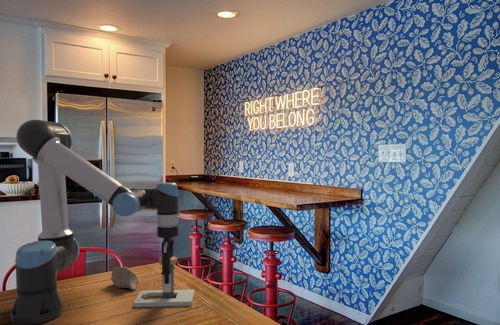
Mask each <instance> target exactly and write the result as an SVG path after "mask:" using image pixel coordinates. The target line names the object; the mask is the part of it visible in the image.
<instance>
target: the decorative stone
mask: <svg viewBox="0 0 500 325" xmlns="http://www.w3.org/2000/svg"><path fill="white" fill-rule="evenodd" d="M110 281H112V283H113V285H114V286H115V287H116V288H121V289H130V290H131V291H133V292H134V291H137V284H139V282H140V280H139V278H138V276H137V275H136V273H135V272H134V271H132V269H130V268H129V267H128V266H119V267H117V266H116V267H113V268H112V269H111V277H110Z"/></svg>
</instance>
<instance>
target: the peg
mask: <svg viewBox="0 0 500 325" xmlns="http://www.w3.org/2000/svg"><path fill="white" fill-rule="evenodd" d="M177 263H178V258H177V257H176V256H174V255H173V256H172V257H171V260H170V272H171V292H163V296H162V299H173V298H175V297H174V290H175V281H174V280H175V278H174V277H175V271H174V270H175V269H174V266H175V265H176V264H177ZM158 264H159V265H161V266H162V256H161V257H159V258H158Z"/></svg>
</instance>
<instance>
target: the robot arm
mask: <svg viewBox="0 0 500 325" xmlns="http://www.w3.org/2000/svg"><path fill="white" fill-rule="evenodd" d="M15 137H16V141H17V145H18V147H19V148H20V149H21V150H22V151H23V152H25V153H26V154H28V155H29V156H30V157H32V161H33V162H34V163H36V164H37V170H38V172H37V173H38V188H39V202H40V203H39V204H40V216H41V232H40V233H39V234H38V235H37V241H36V240H35V241H32V242H28V243H26V244H23V245H21V246H20V247H19V248H18V249H17V250H16V252H15V260H14V262H15V263H14V264H15V282H16V283H15V284H16V285H15V286H16V296H15V299H14V302H13V304H12V308H11V311H10V322H11V323H12V324H14V325H38V324H42V323H46V322H49V321H52V320H54V319H56V318H58V317H59V316H61V315H62V314H63V312H64V305H63V301H62V299H61V297H60V294H59V291H58V286H57V284H58V282H57V280H58V278H57V275H58V274H60V273H61V272H62V271H65V270H66V269H69V268H70V267H71V266H72V265H73V264H74V263H75V262H76V260H78V257H79V255H80V245H79V242H78V240H76V239H75V237H74V231H73V230H72V229H70V227H69V216H68V215H69V214H68V199H67V198H68V197H67V185H66V184H67V182H66V177H68V178H69V179H71V180H72V181H73V182H74V183H76V184H78V185H80V186H81V187H83V188H85V189H86V190H87V191H89V192H90V193H92V194H93V195H95V196H96V197H98V198H99V199H101V200H102V201H103V202H105V203H107V204H108V205H110V206H111V207H112V210H113V211H114V213H115V214H117V215H118V216H120V217H129V216H134V215H135V214H136V213H138V212H139V211H141V210H156V225H157V227H156V236H157V237H158V238H160V239H163V240H162V242H161V247H160V249H161V257H162V265H161V272H160V275H161V276H162V290H163V292H171V272H170V260H171V257H172V256H174V245H175V240H174V239H173V238H176V237H178V236H179V225H178V224H179V219H180V218H181V216H180V215H179V191H178V190H179V189H178V184H177V183H176V182H158V183H156V187H155V188H154V187H153V188H144V187H143V188H139V187H138V188H137V187H136V188H135V187H132V188H131V187H130V188H128V187H126V186H125V185H124V184H122V183H120V182H119V181H118V180H116V179H115V178H113V177H112V176H110V175H109V174H107V173H105V171H103V170H101V169H100V168H98V167H97V166H95V165H94V164H92V163H91V162H90V161H88V160H86V159H85V158H84V157H82V156H80V155H79V154H78V153H76V152H74V151H73V150H72V149H71V147H72V145H73V135H72V133H71V130H69V128H68V127H67V126H66V125H63V124H61V123H59V122H56V121H50V120H49V121H48V120H42V119H30V120H27V121H25V122H23V123H22V124H21V125H20V126H19V127H18V129H17V132H16V136H15ZM175 267H176V266H175V265H174V270H175V269H176V268H175Z"/></svg>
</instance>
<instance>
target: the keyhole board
mask: <svg viewBox="0 0 500 325" xmlns="http://www.w3.org/2000/svg"><path fill="white" fill-rule="evenodd" d="M195 293H196V291H195V289H174V298H173V299H163V298H160V299H146V298H149V297H153V298H154V297H163V289H159V290H158V289H157V290H156V289H155V290H151V289H150V290H140V292H139V293H138V295H137V297H136V299H135V300H134V301H133V308H146V307H147V308H150V307H151V308H155V307H188V306H189V307H192V306H193V303H194V297H195Z"/></svg>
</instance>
